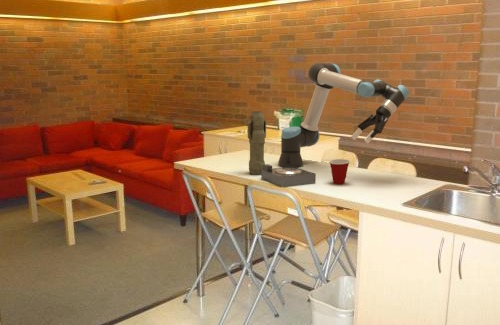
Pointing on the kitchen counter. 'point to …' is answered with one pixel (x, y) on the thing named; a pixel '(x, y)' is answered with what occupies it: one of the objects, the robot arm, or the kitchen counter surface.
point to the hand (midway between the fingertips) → (359, 140)
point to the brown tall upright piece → (256, 142)
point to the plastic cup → (339, 170)
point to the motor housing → (287, 176)
